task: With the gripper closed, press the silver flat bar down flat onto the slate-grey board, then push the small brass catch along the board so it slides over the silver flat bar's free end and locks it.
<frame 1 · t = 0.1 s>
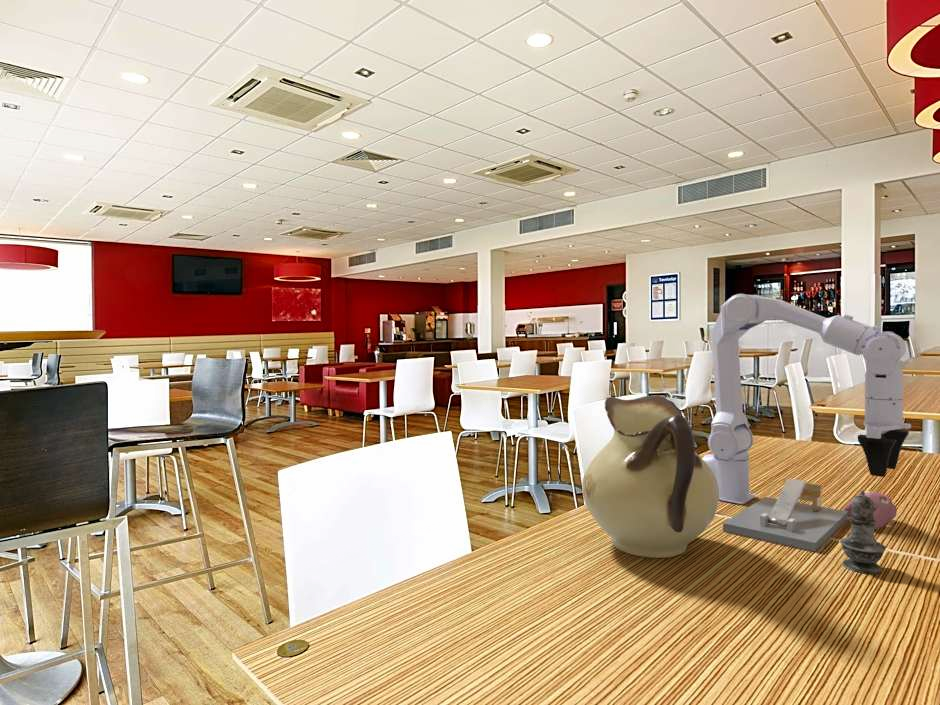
hand: (883, 471, 108), 10 cm above the table, fingers open, 7 cm apart
catch: (803, 495, 116), point 4 cm above the table, slide at 0.0 cm
base board: (790, 525, 110), on the table
silver flat bar: (787, 501, 109), point 5 cm above the table, hinge at 25.0°
pitcher: (652, 547, 102), on the table
grey stone finial: (862, 568, 91), on the table
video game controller: (869, 524, 111), on the table
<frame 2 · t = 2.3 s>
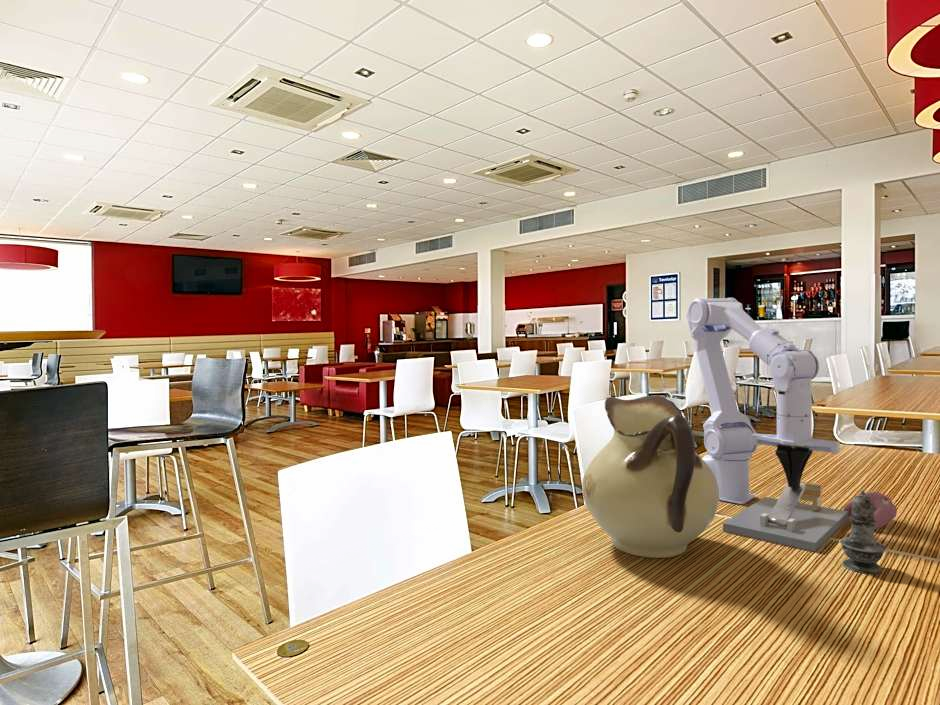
hand: (794, 486, 111), 7 cm above the table, fingers closed, pressing on silver flat bar
silver flat bar: (787, 502, 109), point 5 cm above the table, hinge at 22.1°, touching gripper
everything else where it was.
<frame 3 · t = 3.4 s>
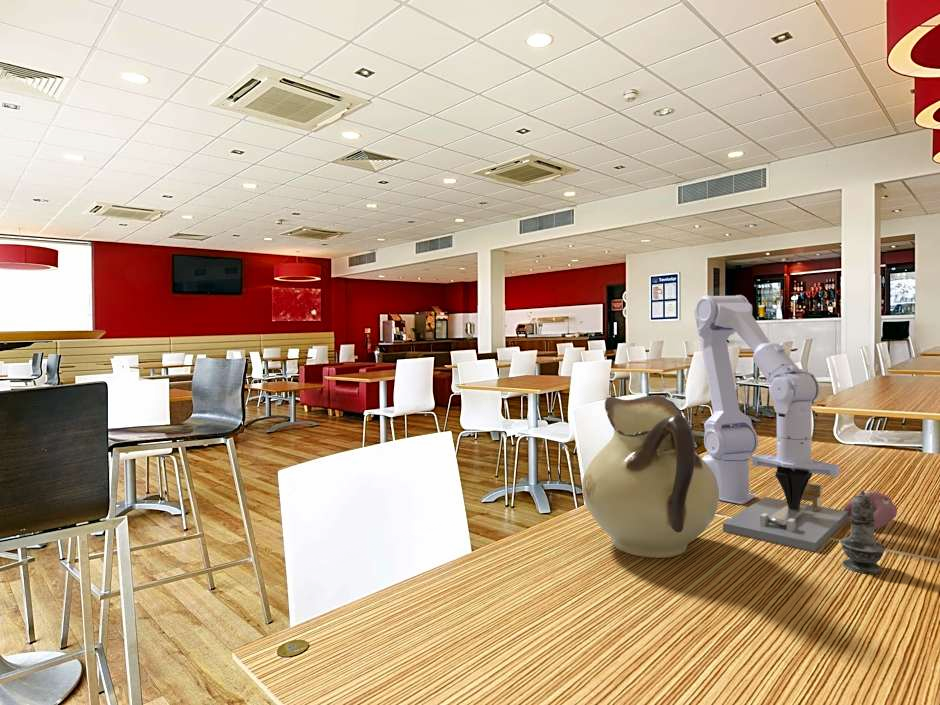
hand: (793, 508, 111), 3 cm above the table, fingers closed, pressing on silver flat bar
silver flat bar: (787, 514, 109), point 2 cm above the table, hinge at -0.3°, touching gripper
everything else where it was.
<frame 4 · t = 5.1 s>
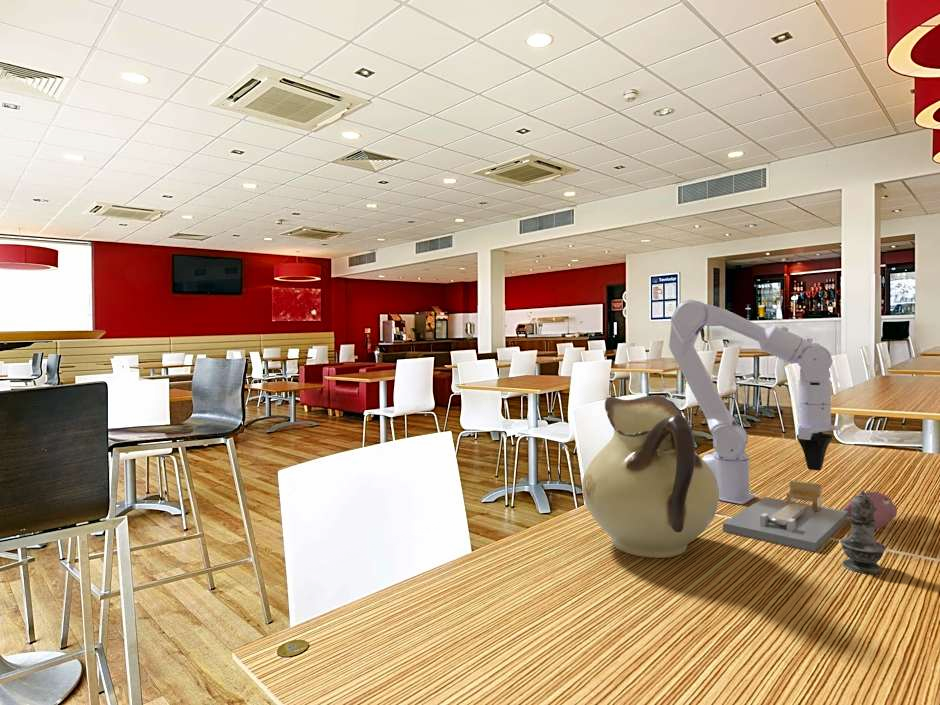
hand: (814, 469, 121), 8 cm above the table, fingers closed
silver flat bar: (787, 514, 109), point 2 cm above the table, hinge at -0.4°
everything else where it was.
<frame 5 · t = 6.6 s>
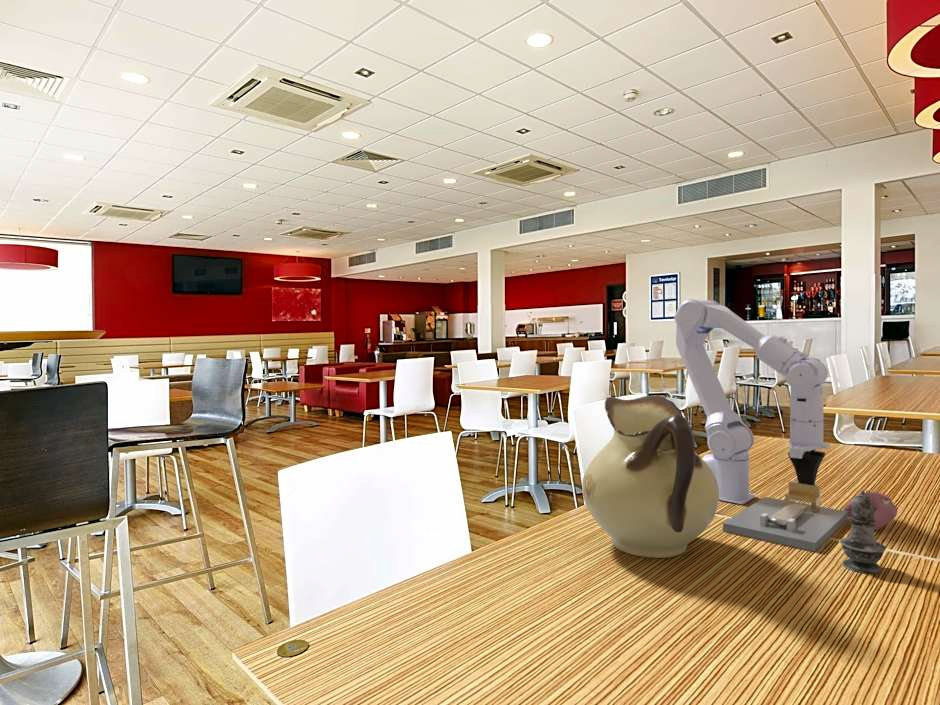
hand: (806, 488, 117), 5 cm above the table, fingers closed
catch: (802, 496, 115), point 4 cm above the table, slide at 0.8 cm, touching gripper
everything else where it was.
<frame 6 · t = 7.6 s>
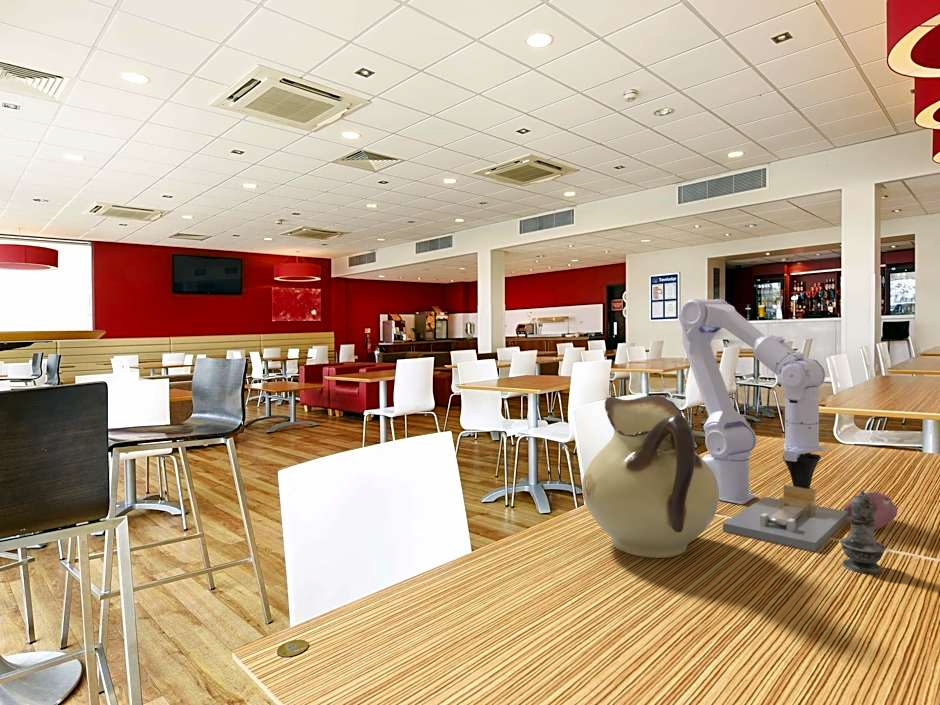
hand: (801, 491, 115), 5 cm above the table, fingers closed
catch: (797, 499, 113), point 4 cm above the table, slide at 4.0 cm, touching gripper
everything else where it was.
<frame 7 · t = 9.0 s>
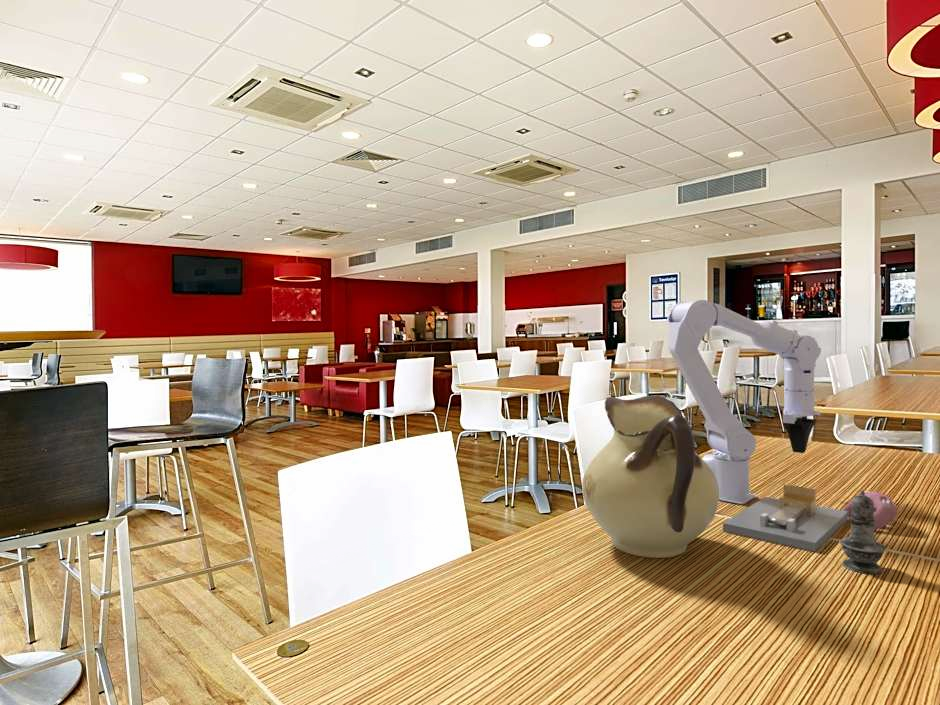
hand: (799, 452, 129), 9 cm above the table, fingers closed
catch: (797, 499, 113), point 4 cm above the table, slide at 4.0 cm
everything else where it was.
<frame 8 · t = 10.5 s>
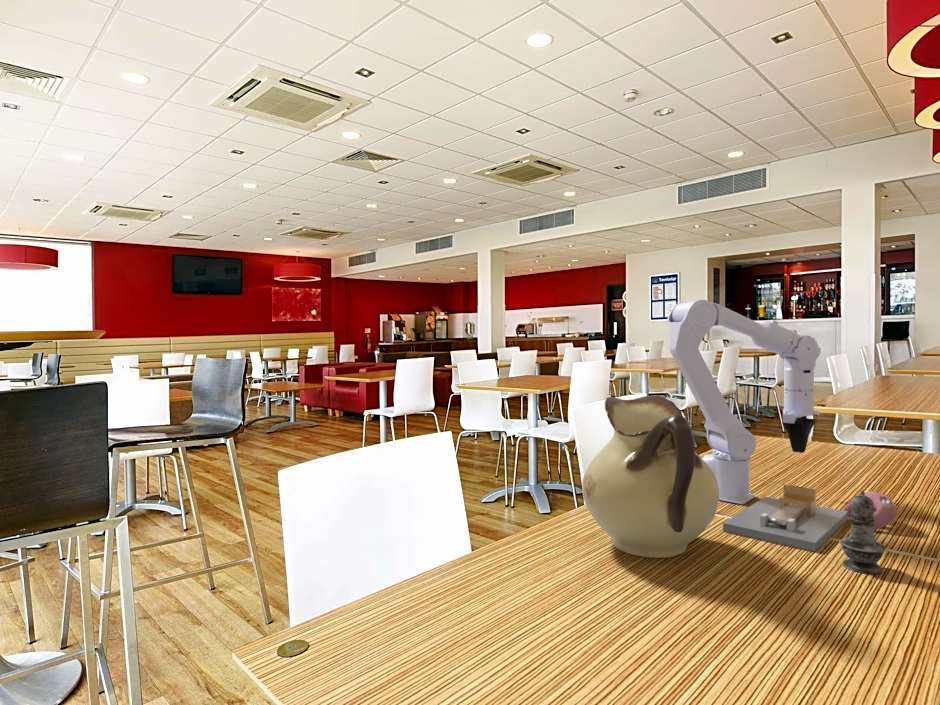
hand: (798, 451, 130), 9 cm above the table, fingers closed
nothing on the table moved.
at the end: silver flat bar at +0° (first picture: +25°); catch slide at 4.0 cm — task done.
